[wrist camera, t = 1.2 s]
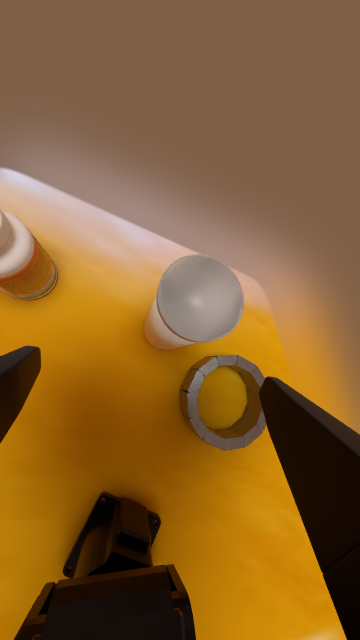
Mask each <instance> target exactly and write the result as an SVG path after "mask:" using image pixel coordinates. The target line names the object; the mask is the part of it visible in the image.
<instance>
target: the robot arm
mask: <svg viewBox="0 0 360 640" xmlns="http://www.w3.org/2000/svg"><path fill="white" fill-rule="evenodd" d="M40 369H41V352H40V348H39V347H35V346H24V347H22V348H19V349H17V350H14V351H12V352H9V353H7V354H5V355H2V356H0V443H1V442H2V440H3V438H4V437H5V435H6V434H7V432H8V430H9V429H10V427H11V426H12V424H13V423H14V421H15V419H16V418H17V416H18V414H19V413H20V411H21V409H22V407H23V405H24V403H25V401H26V399H27V397H28V395H29V393H30V391H31V389H32V387H33V385H34V383H35V380H36V378H37V376H38V374H39V372H40ZM259 399H260V402H261V406H262V410H263V413H264V417H265V421H266V424H267V428H268V431H269V434H270V437H271V439H272V442H273V444H274V447H275V450H276V452H277V455H278V458H279V460H280V463H281V466H282V468H283V471H284V474H285V476H286V479H287V482H288V484H289V487H290V489H291V492H292V495H293V497H294V500H295V503H296V505H297V508H298V511H299V513H300V516H301V519H302V521H303V524H304V527H305V529H306V532H307V534H308V537H309V540H310V542H311V545H312V548H313V550H314V553H315V556H316V558H317V561H318V564H319V566H320V569H321V572H322V573H323V577H324V580H325V583H326V585H327V588H328V591H329V593H330V596H331V599H332V601H333V604H334V607H335V609H336V612H337V614H338V617H339V620H340V622H341V625H342V628H343V630H344V633H345V636H346V638H347V640H360V435H359V434H358V433H357V432H355V431H354V430H352V429H351V428H349V427H348V426H346V425H345V424H343V423H342V422H340V421H339V420H338V419H336V418H335V417H333V416H332V415H330V414H329V413H327V412H326V411H325V410H323V409H322V408H320V407H319V406H317V405H316V404H314V403H313V402H311V401H310V400H308V399H307V398H306V397H304V396H303V395H301V394H300V393H298V392H297V391H295V390H294V389H293V388H291V387H290V386H288V385H287V384H285V383H284V382H282V381H281V380H279V379H278V378H276V377H266V378H265V380H264V382H263V384H262V386H261V388H260V390H259ZM102 498H105V499H106V500H105V501H104V502H102V501H101V499H102ZM155 520H157V521H158V522H157V523H155V524H154V523H153V522H154V521H155ZM160 524H161V520H160V517H159V516H158V515H157V514H154V513H152V512H150V511H147V509H146V507H144V506H142V505H139V504H137V503H135V502H132V501H130V500H128V499H125V498H122V499H119V498H117V497H115V496H112V495H110V494H108V493H102V494H100V495H99V497H98V499H97V501H96V503H95V505H94V507H93V509H92V511H91V513H90V515H89V517H88V519H87V521H86V523H85V525H84V527H83V529H82V531H81V533H80V535H79V537H78V539H77V541H76V543H75V545H74V547H73V549H72V551H71V553H70V555H69V557H68V559H67V561H66V563H65V565H64V568H63V574H64V576H66V577H69V578H71V579H65V580H59V581H58V583H56V584H55V582H49V583H46V584H45V586H44V588H43V589H42V591H41V593H40V595H39V596H38V597H37V599H36V601H35V602H34V604H33V606H32V608H31V610H30V611H29V613H28V615H27V617H26V618H25V620H24V622H23V624H22V626H21V627H20V629H19V631H18V633H17V634H16V636H15V638H14V640H196V635H195V627H194V620H193V614H192V609H191V604H190V600H189V596H188V593H187V591H186V589H185V587H184V585H183V583H182V581H181V579H180V577H179V575H178V573H177V571H176V569H175V567H174V565H173V564H171V565H166V567H165V565H160V566H153V565H152V556H151V546H152V544H153V541H154V539H155V537H156V534H157V532H158V530H159V527H160ZM69 566H71V567H72V568H71V569H68V568H67V567H69Z"/></svg>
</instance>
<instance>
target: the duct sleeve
mask: <svg viewBox="0 0 360 640" xmlns="http://www.w3.org/2000/svg"><path fill="white" fill-rule="evenodd" d="M243 307H244V296H243V291H242V287H241V285H240V282H239V280H238V279H237V277H236V275H235V274H234V273H233V271H232V270H231V269H230V268H229V267H228V266H227V265H225V264H224V263H223V262H221V261H219V260H218V259H216V258H213V257H210V256H206V255H188V256H185V257H182V258H180V259H178V260H176V261H175V262H173V263H172V264H171V265H170V266H169V267H168V268H167V269H166V271H165V272H164V274H163V276H162V278H161V280H160V283H159V285H158V288H157V294H156V296H155V298H154V301H153V303H152V305H151V308H150V310H149V312H148V315H147V317H146V319H145V322H144V333H145V336H146V338H147V340H148V341H149V343H150V344H151V345H153V346H154V347H156V348H158V349H161V350H171V349H175V348H179V347H183V346H187V345H191V344H195V343H204V342H210V341H214V340H218V339H220V338H222V337H224V336H226V335H227V334H229V333H230V332H231V331H232V330H233V329H234V328H235V327H236V325H237V324H238V322H239V320H240V318H241V315H242V312H243Z"/></svg>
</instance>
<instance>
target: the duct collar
mask: <svg viewBox="0 0 360 640" xmlns="http://www.w3.org/2000/svg"><path fill="white" fill-rule="evenodd" d="M219 366H228V367H230V368H232V369H234V370H236V371H238V373H239V374H240V376H241V378H242V379H243V381H244V382H245V384H246V387H247V397H248V403H247V406H246V408H245V411H244V413H243V416H242V418H241V419H240V420H238V421H237V422H236V423H235V424H234V425H233V426H231V427H230V428H225V429H218V430H213V429H211V428H209V427H207V426H205V424H204V422H203V421H202V419H201V418H200V416H199V413H198V398H197V394H198V391H199V389H200V387H201V385H202V382H203V380H204V378H205V376H207V375H208V374H209V373H211V372H212V371H213V370H215V369H216V368H217V367H219ZM264 380H265V378H264V376H263V375H262V373H261V372H260V370H259V368H258V367H257V366H256V365H255V364H253V363H251V362H249V361H248V360H246V359H244V358H242V357H240V356H239V355H238V356H237V355H228V356H209V357H205V358H204V359H202V360H201V361H200V362H198V363H197V364H195V365H194V366H192V367H191V369H189V371H188V373H187V375H186V377H185V379H184V382H183V384H182V386H181V388H182V389H181V390H180V393H181V411H182V413H183V415H184V417H185V418H186V420H187V421H188V423H189V425H190V426H191V428H192V429H193V431H194V432H195V433H196V434H197V435H198V436H199V437H200V438H201V439H202V440H203V441H205V442H207V443H209V444H211V445H213V446H215V447H217V448H219V449H221V450H223V449H224V450H225V451H226V450H232V449H238V448H244V447H245V445H246V446H248V445H249V444H250V443H252V442H253V441H254V440H255V439H256V438H257V437H258V436H259V435H260V434H261V433H263V431H262V430H264V429H265V426H266V421H265V417H264V413H263V410H262V406H261V402H260V399H259V390H260V388H261V386H262V384H263V382H264ZM261 429H262V430H261Z"/></svg>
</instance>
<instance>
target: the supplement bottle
mask: <svg viewBox="0 0 360 640" xmlns="http://www.w3.org/2000/svg"><path fill="white" fill-rule="evenodd" d="M56 281H57V268H56V266H55V264H54V262H53V261H52V259H51V258H50V257H49V255H48V254H47V253H46V251H45V250H44V249H43V248H42V246H41V245H40V244H39V242H38V241H37V240H36V238H35V237H34V236H33V234H32V233H31V232H30V230H29V229H28V228H27V226H26V225H25V224H24V223H23V222H22V221H21V220H20V219H18V218H17V217H16V216H14V215H12V214H11V213H8V212H6V211H3V210H0V290H1V291H3V292H5V293H6V294H8V295H10V296H12V297H15V298H18V299H23V300H32V299H37V298H40V297H42V296H44V295H46V294H47V293H49V292H50V291H51V290H52V288H53V287H54V285H55V283H56Z"/></svg>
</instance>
